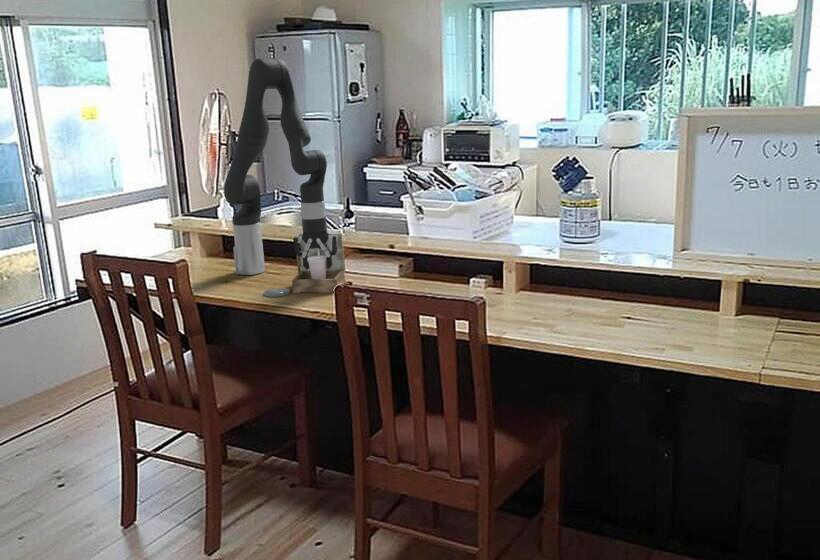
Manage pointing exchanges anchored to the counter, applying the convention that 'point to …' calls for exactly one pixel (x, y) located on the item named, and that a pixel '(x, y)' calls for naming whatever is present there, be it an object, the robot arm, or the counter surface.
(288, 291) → the coaster
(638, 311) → the counter surface
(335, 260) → the cold frame
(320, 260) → the smoothie
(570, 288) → the counter surface
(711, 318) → the counter surface
